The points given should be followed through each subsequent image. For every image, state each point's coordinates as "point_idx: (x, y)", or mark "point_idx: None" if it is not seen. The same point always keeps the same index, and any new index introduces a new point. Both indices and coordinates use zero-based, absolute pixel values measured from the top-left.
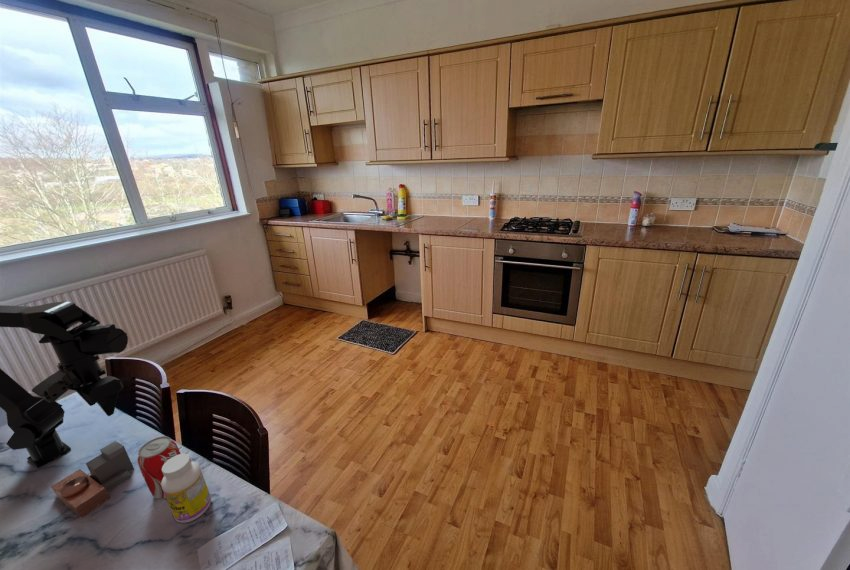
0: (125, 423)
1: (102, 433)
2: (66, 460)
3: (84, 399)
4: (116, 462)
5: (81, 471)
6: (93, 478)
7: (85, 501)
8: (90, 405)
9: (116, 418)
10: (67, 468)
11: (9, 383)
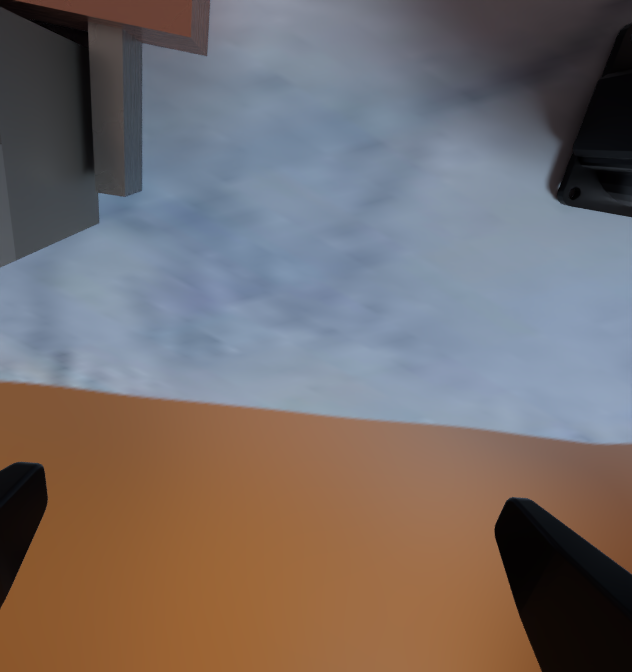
0: (437, 411)
1: (493, 333)
2: (497, 132)
3: (608, 592)
4: None
5: (145, 22)
6: (69, 41)
7: None
8: (512, 503)
9: (524, 419)
10: (420, 85)
11: None
